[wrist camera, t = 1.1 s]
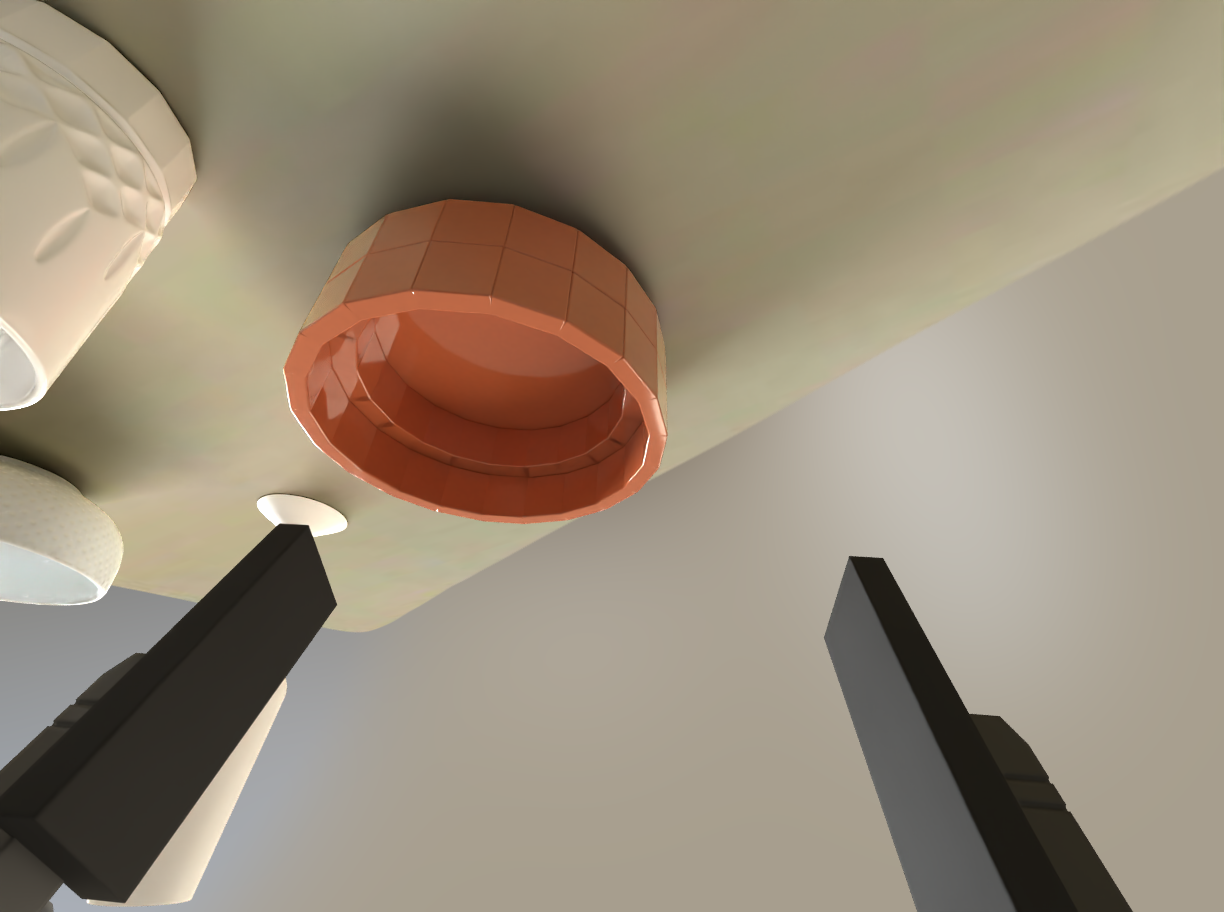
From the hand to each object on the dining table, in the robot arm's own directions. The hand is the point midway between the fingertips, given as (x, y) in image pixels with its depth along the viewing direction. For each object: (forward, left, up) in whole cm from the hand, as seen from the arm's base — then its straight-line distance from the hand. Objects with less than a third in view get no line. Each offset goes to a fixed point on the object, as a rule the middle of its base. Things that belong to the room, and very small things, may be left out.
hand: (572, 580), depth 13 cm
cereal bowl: (+9, -48, -15) cm, 51 cm away
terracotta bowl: (+4, -6, -14) cm, 16 cm away
